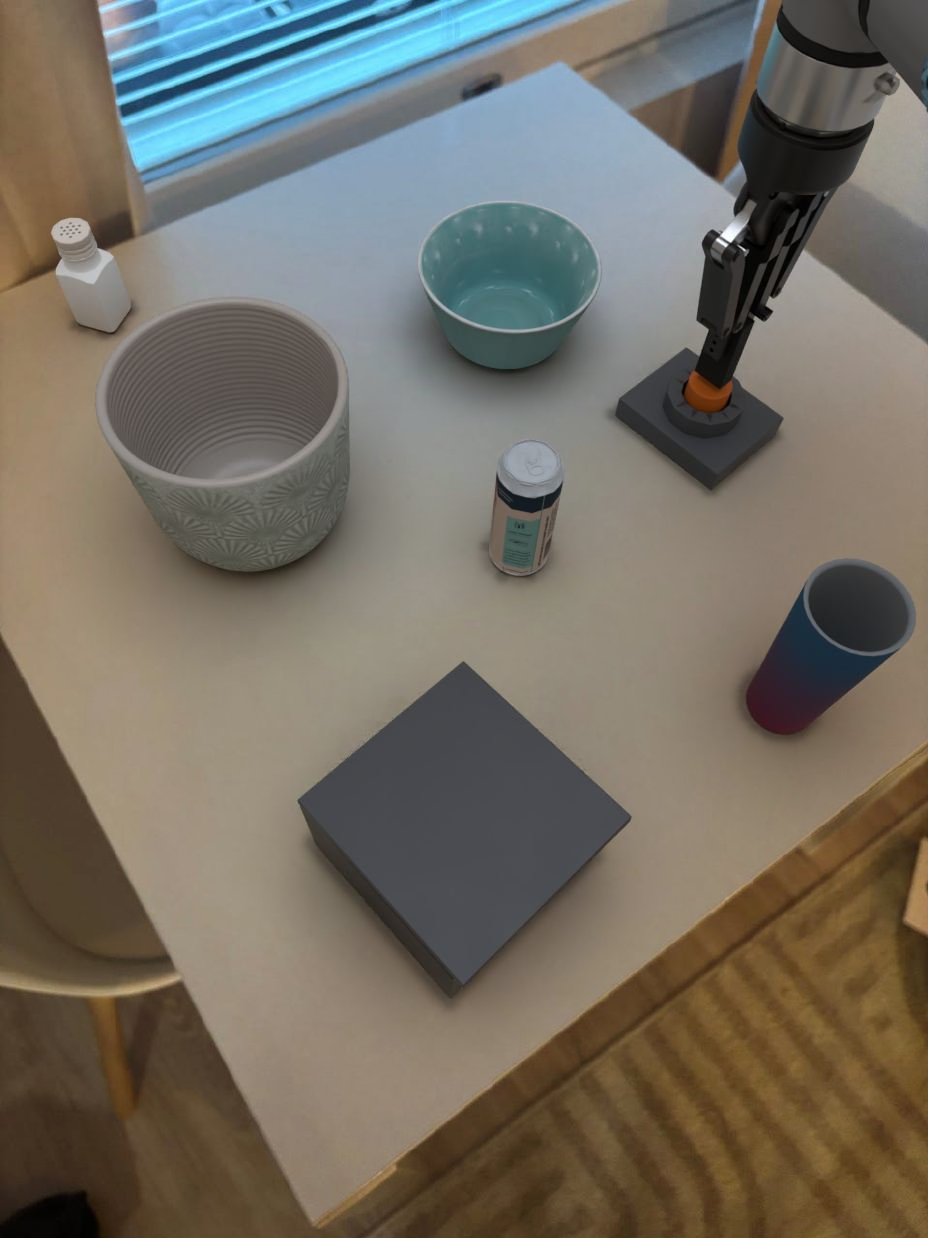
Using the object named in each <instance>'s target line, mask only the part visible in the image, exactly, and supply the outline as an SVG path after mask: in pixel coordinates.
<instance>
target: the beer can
mask: <svg viewBox="0 0 928 1238" xmlns="http://www.w3.org/2000/svg"><path fill="white" fill-rule="evenodd" d="M565 471H566V470H565V464H564V462H563V460H562V458H561V456H560V455H559V452H558V451H557V450H556V449H554V447H552V446H551V445H550V444H549V443H548V442H547V441H543V440H539V439H533V438H530V437H529V438H525V439H522V440H519V441H516V442H513V443H512V444H511V445H510V446H509V447H508V448H506V449H505V450H504V451H503V453H502V454H501V455H500V457H499V458H498V460H497V463H496V473H495V484H494V494H493V495H494V496H493V504H492V513H491V514H492V516H491V524H490V525H491V526H490V536H489V545H488V552H489V557H490V559H491V561H492V563H493V564H494V565H495V566H496V567H497V568H498V569H499V570H500V571H502V572H504V573H506V574H508V575H511V576H517V577H518V576H519V577H520V576H521V577H522V576H528V575H532V574H534V573H536V572H538V571H539V570H541V569H542V568H543V567H544V566H545V564H546V562H547V560H548V557H549V554H550V548H551V544H552V540H553V534H554V530H555V525H556V521H557V514H558V509H559V505H560V499H561V494H562V490H563V484H564V479H565Z"/></svg>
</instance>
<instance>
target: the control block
mask: <svg viewBox="0 0 928 1238" xmlns="http://www.w3.org/2000/svg"><path fill="white" fill-rule="evenodd" d="M699 356H700V355H699V354H697V353H695V352H694V351H693V350H691V349H690V348H689V347H687V346H686V347H684V348H683V349H682V350H680V351H679V352H678V353H676V354H675V355H674V356H673V357H671V358H670V359H669V360H668V361H666V362H664V364H662V365H661V366H659V367H658V368H657V369H656V370H655V371H653V372H652V373H650V374H649V375H648V376H646V377H645V378H644V379H642V381H640V382H639V383H637V384H636V385H635V386H634V387H632V388H631V389H629V390H628V391H627V392H626V393H624V394H622V396H620V397H619V398H618V402H617V406H616V410H615V413H614V415H615V416H616V417H617V418H618V419H619V420H621V421H622V422H623V423H624V424H626V425H627V426H628V427H630V428H631V429H632V430H634V431H635V432H636V433H637V434H639V435H640V436H641V437H643V438H644V439H645V440H646V441H647V442H649V443H650V444H651V445H652V446H654V447H655V448H656V449H658V450H659V451H660V452H662V453H663V454H664V455H665V456H667V457H668V458H669V459H670V460H672V461H673V462H675V464H677V465H678V466H679V467H681V468H682V469H683V470H684V471H686V472H687V473H688V474H689V475H691V476H692V477H693V478H694V479H696V480H697V481H698V482H700V483H701V484H702V485H703V486H705V487H706V488H708V490H710V491H711V490H713V489H714V488H716V486H718V485H719V484H720V483H721V482H722V481H724V479H726V478H727V477H728V476H729V475H731V474H732V473H733V472H734V471H736V469H738V468H739V467H740V466H741V465H742V464H743V463H745V461H747V460H748V459H749V458H750V457H752V456H753V455H754V454H755V453H756V452H757V451H758V450H759V449H761V448H762V447H764V445H766V444H767V443H768V442H769V441H770V440H772V439H773V438H774V437H775V436H776V435H777V433H778V431H779V429H780V427H781V425H782V423H783V422H784V417H783V416H782V415H780V414H779V413H778V412H777V411H775V410H774V409H772V408H771V407H770V406H768V405H767V404H766V403H764V402H763V401H761V400H760V399H758V397H756V396H755V395H753V394H752V393H751V392H749V391H748V390H746V389H745V388H743V386H742V384H741V382H740V381H739V379H738V378H737V377H735V376H734V375H733V377H732V390H731V393H730V395H729V398H728V400H727V403H726V405H725V406H724V408H722V409H721V410H720V411H718V412H714V413H705V412H701V411H697V410H695V409H694V408H692V407H691V406H690V405H689V404H688V403H687V401H686V399H685V395H684V393H685V389H686V386H687V383H688V381H689V378H690V375H691V373H692V372H693V371H694V370H695V368H696V365H697V362H698V359H699Z"/></svg>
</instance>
